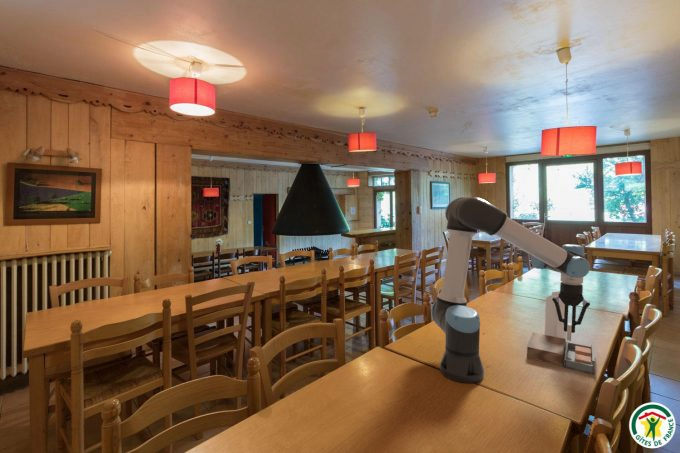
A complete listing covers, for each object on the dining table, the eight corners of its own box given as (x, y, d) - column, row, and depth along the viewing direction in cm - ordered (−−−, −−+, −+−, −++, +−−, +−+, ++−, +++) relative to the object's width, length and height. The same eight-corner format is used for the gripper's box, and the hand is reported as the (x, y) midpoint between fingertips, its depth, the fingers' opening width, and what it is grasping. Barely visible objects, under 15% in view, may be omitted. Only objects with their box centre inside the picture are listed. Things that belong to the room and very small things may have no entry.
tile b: (590, 353, 132) (590, 359, 132) (590, 348, 136) (590, 354, 136) (575, 350, 135) (575, 356, 135) (575, 345, 139) (575, 351, 139)
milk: (566, 340, 151) (568, 292, 149) (555, 342, 149) (558, 293, 148) (554, 335, 157) (556, 289, 155) (543, 337, 155) (546, 290, 153)
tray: (564, 367, 127) (564, 354, 126) (566, 348, 143) (566, 337, 143) (593, 374, 122) (594, 361, 121) (592, 353, 138) (593, 342, 137)
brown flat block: (526, 357, 135) (527, 346, 135) (532, 342, 150) (532, 332, 149) (562, 365, 128) (563, 354, 128) (564, 349, 143) (565, 338, 142)
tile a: (591, 362, 124) (590, 368, 125) (590, 357, 128) (590, 363, 129) (574, 358, 127) (574, 364, 128) (575, 353, 131) (574, 359, 132)
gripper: (551, 282, 137) (549, 338, 138) (591, 287, 129) (588, 346, 131) (553, 279, 143) (550, 333, 144) (591, 283, 135) (588, 340, 137)
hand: (568, 339), depth 138 cm, fingers closed
